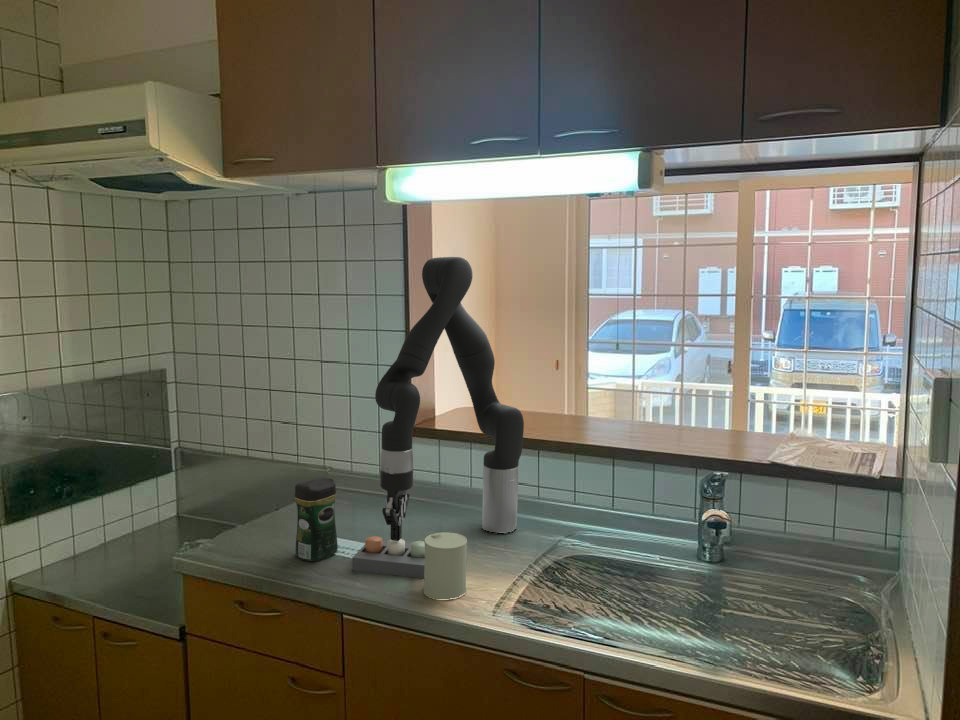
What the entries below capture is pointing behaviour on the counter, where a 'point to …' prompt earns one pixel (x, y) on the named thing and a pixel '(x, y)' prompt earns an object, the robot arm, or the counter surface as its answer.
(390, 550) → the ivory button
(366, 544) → the terracotta button
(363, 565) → the button panel
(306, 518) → the coffee jar
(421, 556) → the sage button
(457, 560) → the can
